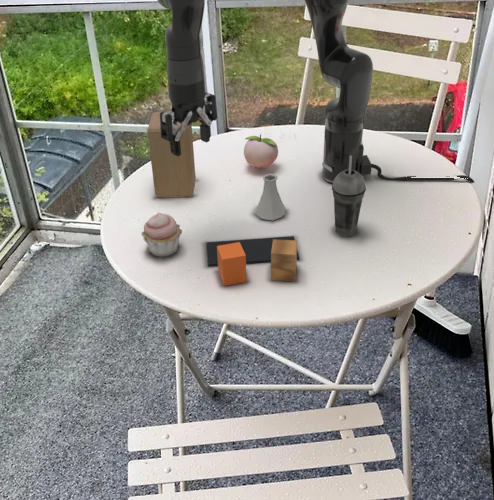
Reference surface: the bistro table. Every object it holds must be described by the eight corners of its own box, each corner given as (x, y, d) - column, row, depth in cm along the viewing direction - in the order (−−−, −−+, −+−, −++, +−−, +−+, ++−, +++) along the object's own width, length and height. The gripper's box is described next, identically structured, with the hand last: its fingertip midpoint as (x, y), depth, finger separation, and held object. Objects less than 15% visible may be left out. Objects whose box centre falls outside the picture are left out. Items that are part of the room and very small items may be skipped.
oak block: (296, 266, 141) (297, 240, 137) (294, 281, 137) (295, 254, 133) (273, 265, 142) (273, 239, 138) (271, 279, 138) (270, 253, 134)
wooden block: (196, 178, 176) (190, 109, 164) (193, 198, 168) (187, 126, 156) (159, 179, 177) (151, 110, 166) (154, 199, 169) (146, 128, 158)
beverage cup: (363, 224, 152) (370, 146, 140) (360, 242, 146) (367, 162, 135) (331, 220, 154) (336, 144, 143) (327, 238, 149) (331, 160, 137)
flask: (249, 214, 159) (248, 179, 154) (267, 201, 163) (266, 166, 158) (273, 224, 155) (273, 188, 149) (291, 210, 159) (292, 174, 153)
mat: (293, 238, 150) (293, 235, 150) (299, 260, 143) (299, 257, 143) (206, 244, 151) (206, 242, 151) (208, 266, 144) (207, 264, 144)
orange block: (240, 268, 143) (239, 241, 138) (246, 281, 139) (245, 255, 134) (218, 272, 142) (216, 245, 138) (223, 286, 138) (222, 259, 134)
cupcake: (156, 234, 156) (152, 198, 150) (190, 242, 152) (187, 206, 146) (135, 255, 150) (129, 218, 144) (170, 265, 146) (166, 228, 140)
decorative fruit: (239, 174, 176) (238, 140, 170) (248, 160, 182) (247, 127, 176) (273, 178, 172) (273, 144, 167) (281, 163, 178) (281, 130, 173)
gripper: (172, 92, 128) (178, 165, 137) (223, 70, 135) (226, 141, 144) (147, 83, 132) (155, 154, 142) (198, 62, 140) (202, 131, 149)
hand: (191, 147), depth 143 cm, fingers open, 8 cm apart
